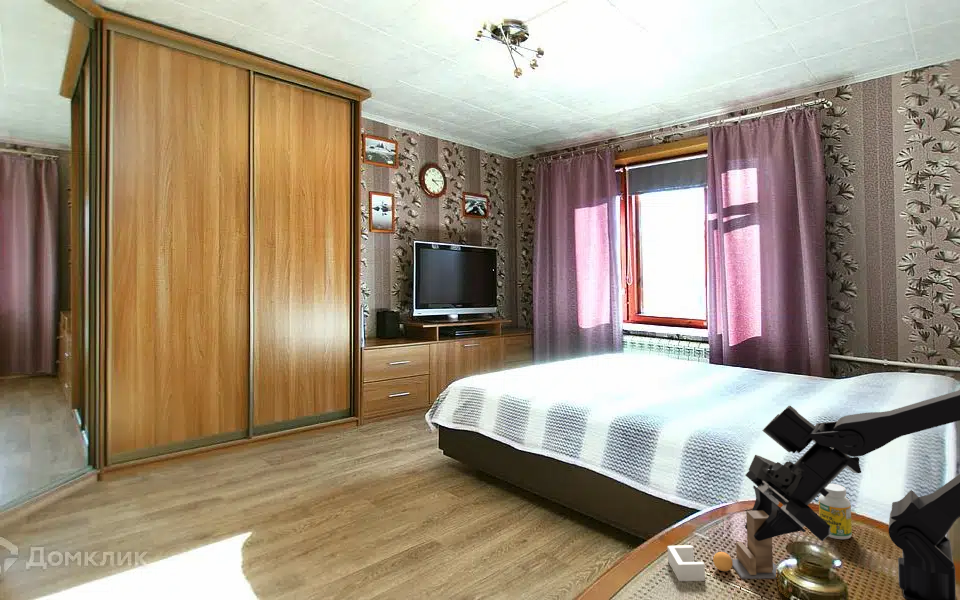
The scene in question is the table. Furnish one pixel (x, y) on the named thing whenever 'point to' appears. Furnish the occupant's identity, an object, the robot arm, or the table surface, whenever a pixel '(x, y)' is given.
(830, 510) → the supplement bottle
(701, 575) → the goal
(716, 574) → the table surface
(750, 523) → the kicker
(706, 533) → the table surface
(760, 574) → the grey flat plate
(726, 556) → the ball
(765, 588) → the table surface
